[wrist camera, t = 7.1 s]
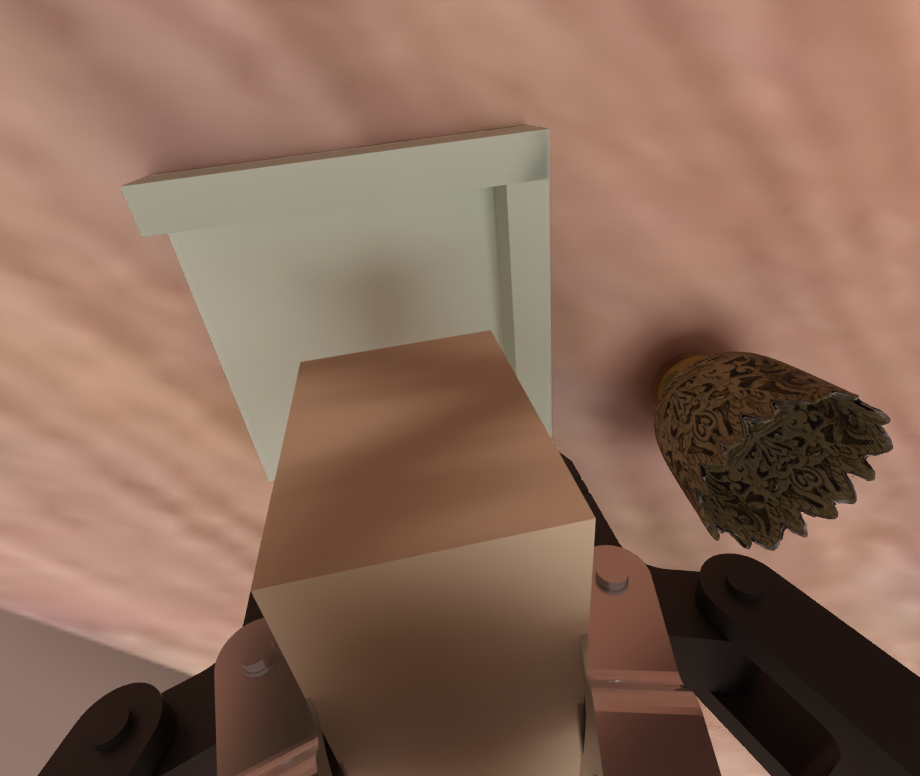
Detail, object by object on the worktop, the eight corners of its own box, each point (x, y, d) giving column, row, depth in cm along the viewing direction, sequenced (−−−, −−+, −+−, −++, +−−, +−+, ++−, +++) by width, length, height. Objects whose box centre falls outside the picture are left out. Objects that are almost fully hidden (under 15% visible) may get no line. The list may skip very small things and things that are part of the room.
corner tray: (535, 423, 25) (552, 454, 23) (270, 475, 24) (262, 512, 22) (526, 125, 18) (548, 128, 16) (149, 175, 17) (119, 186, 15)
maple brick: (490, 330, 10) (596, 518, 6) (507, 551, 14) (579, 775, 10) (300, 362, 10) (250, 590, 5) (367, 581, 14) (372, 829, 9)
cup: (583, 408, 25) (666, 523, 18) (681, 284, 23) (820, 365, 16) (680, 455, 28) (783, 569, 21) (776, 350, 26) (928, 443, 19)
